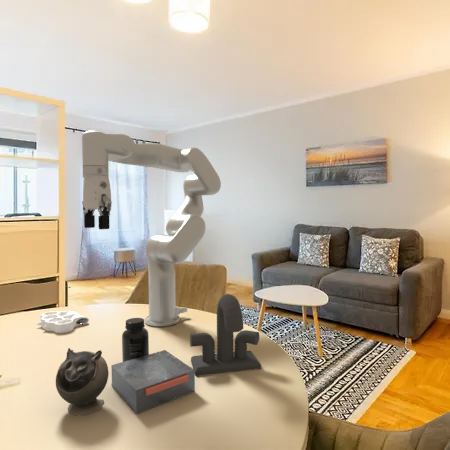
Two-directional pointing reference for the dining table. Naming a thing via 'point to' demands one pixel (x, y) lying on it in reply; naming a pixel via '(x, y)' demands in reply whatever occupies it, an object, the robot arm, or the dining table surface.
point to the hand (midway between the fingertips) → (96, 228)
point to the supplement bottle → (135, 339)
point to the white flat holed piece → (61, 321)
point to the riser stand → (152, 380)
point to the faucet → (225, 342)
